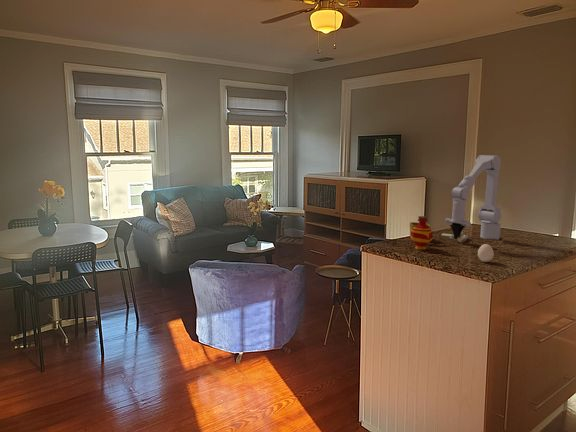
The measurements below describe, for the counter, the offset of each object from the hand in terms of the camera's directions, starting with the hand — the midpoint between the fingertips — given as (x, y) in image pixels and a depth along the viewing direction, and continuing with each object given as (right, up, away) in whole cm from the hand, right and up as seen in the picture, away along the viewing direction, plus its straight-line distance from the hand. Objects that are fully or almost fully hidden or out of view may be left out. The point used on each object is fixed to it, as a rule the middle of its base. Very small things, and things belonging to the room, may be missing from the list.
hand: (456, 238), depth 221 cm
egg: (0, -8, -32) cm, 33 cm away
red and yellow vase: (-20, -4, -9) cm, 23 cm away
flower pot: (-17, -2, +6) cm, 18 cm away
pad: (+2, 0, +18) cm, 18 cm away
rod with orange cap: (+4, 0, +3) cm, 5 cm away
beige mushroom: (+5, 0, +12) cm, 13 cm away
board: (+2, -1, +10) cm, 11 cm away
